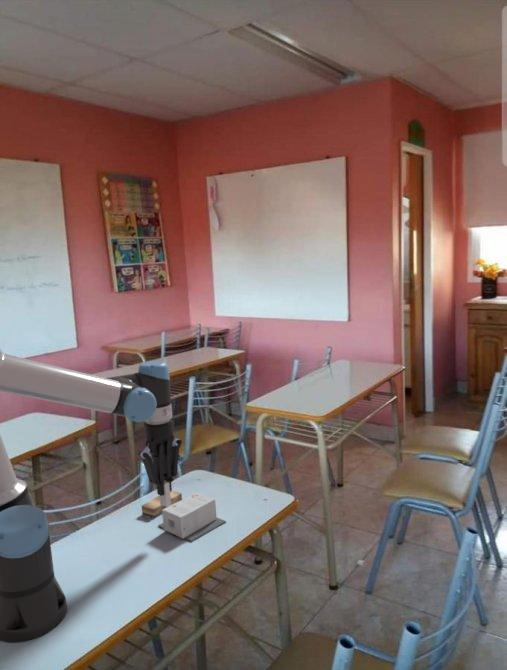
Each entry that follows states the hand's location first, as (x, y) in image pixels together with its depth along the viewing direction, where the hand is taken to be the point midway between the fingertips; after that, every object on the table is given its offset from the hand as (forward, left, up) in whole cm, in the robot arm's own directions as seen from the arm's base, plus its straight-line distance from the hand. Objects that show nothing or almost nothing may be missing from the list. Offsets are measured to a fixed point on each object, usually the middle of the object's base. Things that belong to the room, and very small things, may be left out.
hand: (165, 504), depth 148 cm
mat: (+8, 0, -9) cm, 13 cm away
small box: (+1, 0, -6) cm, 6 cm away
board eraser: (+10, +15, -10) cm, 21 cm away
